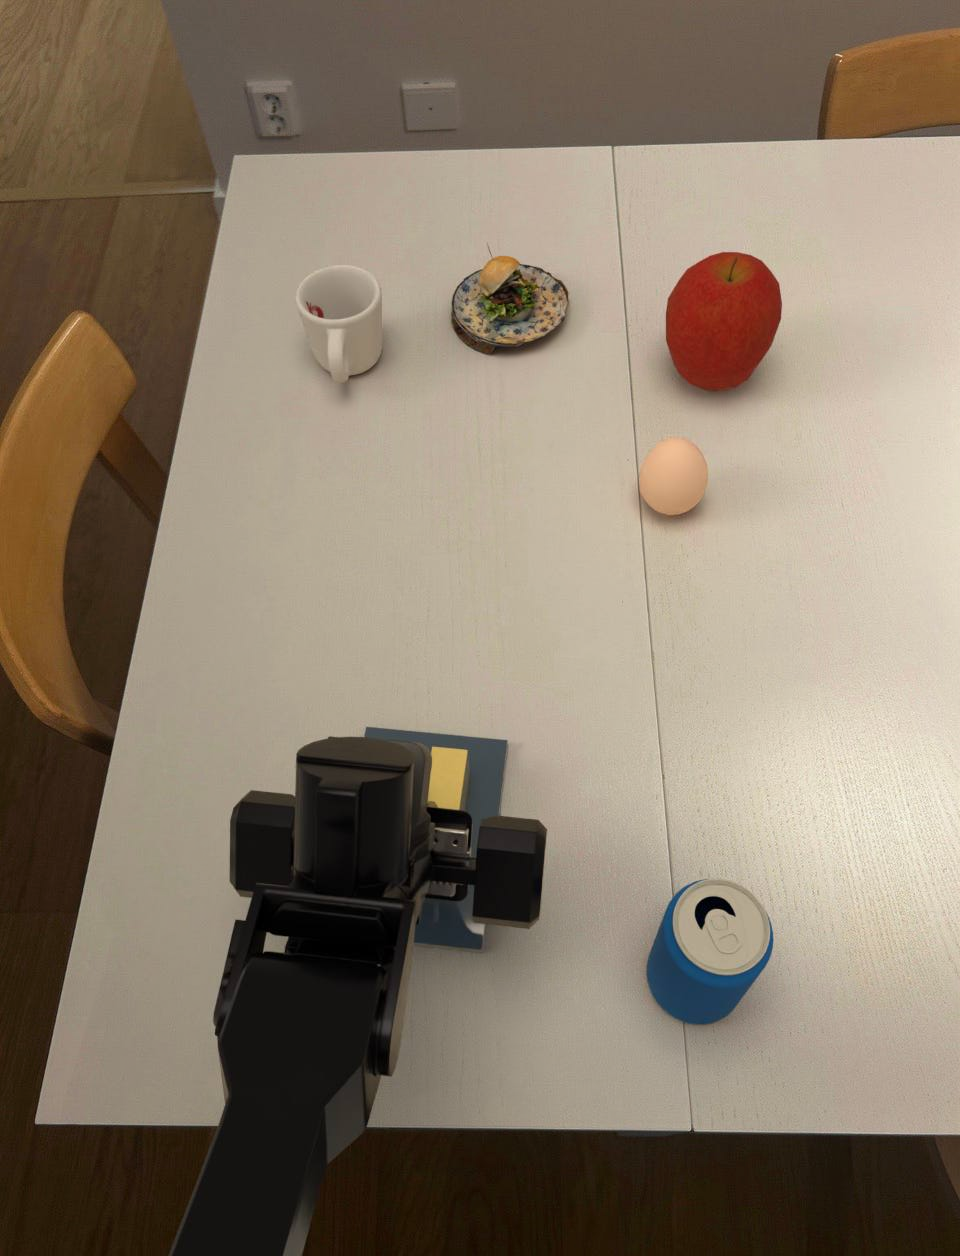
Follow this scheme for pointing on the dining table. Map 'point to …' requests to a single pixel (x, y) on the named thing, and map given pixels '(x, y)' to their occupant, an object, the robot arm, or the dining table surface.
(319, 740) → the robot arm
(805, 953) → the dining table surface
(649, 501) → the egg
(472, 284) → the burger
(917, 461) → the dining table surface
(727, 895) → the beverage can
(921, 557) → the dining table surface
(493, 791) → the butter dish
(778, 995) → the dining table surface
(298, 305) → the cup
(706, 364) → the apple
